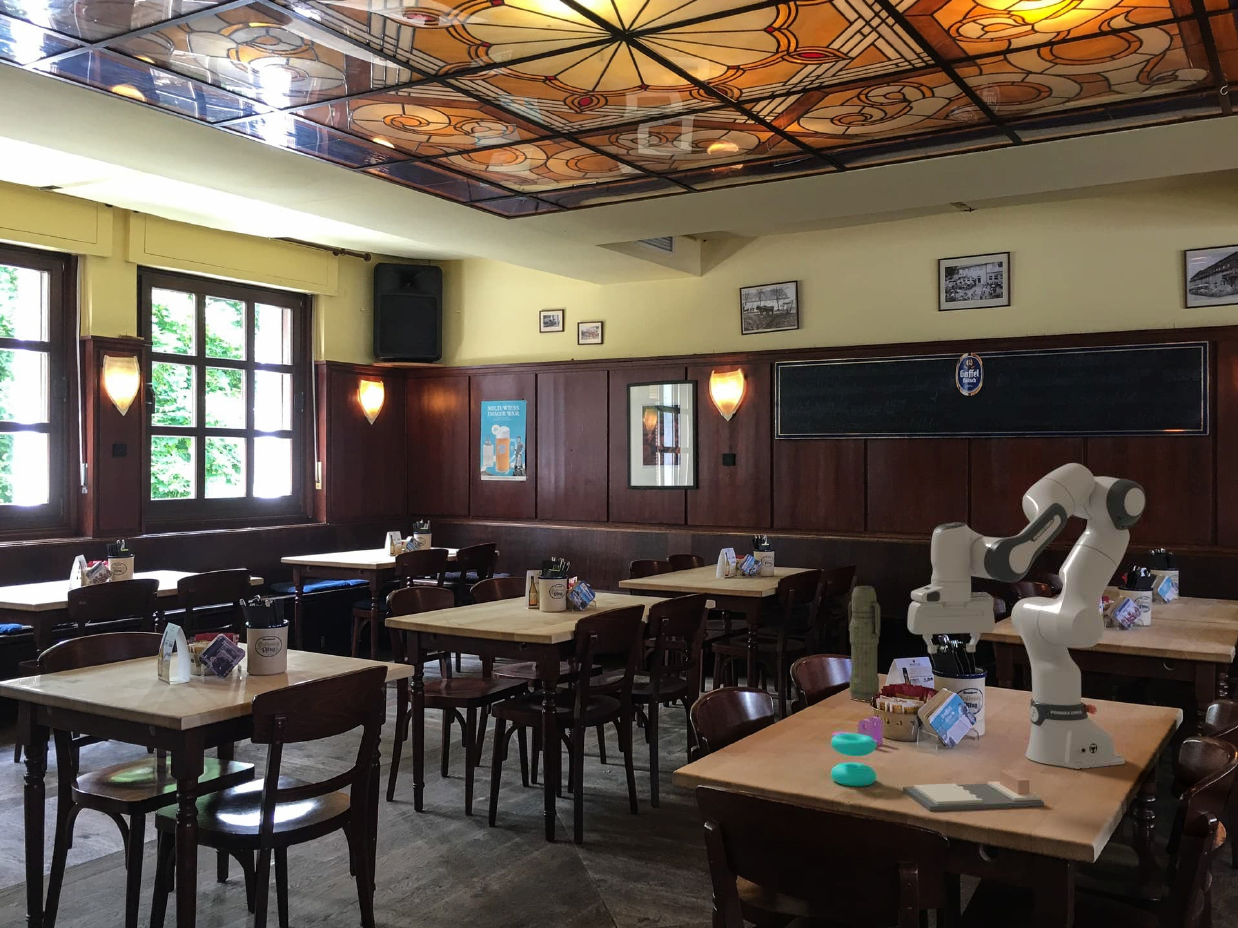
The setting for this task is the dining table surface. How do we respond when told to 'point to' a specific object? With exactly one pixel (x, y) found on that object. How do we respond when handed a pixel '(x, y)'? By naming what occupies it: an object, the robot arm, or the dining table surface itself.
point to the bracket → (870, 729)
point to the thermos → (864, 642)
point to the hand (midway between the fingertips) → (951, 652)
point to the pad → (963, 797)
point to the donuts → (853, 771)
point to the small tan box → (1014, 786)
